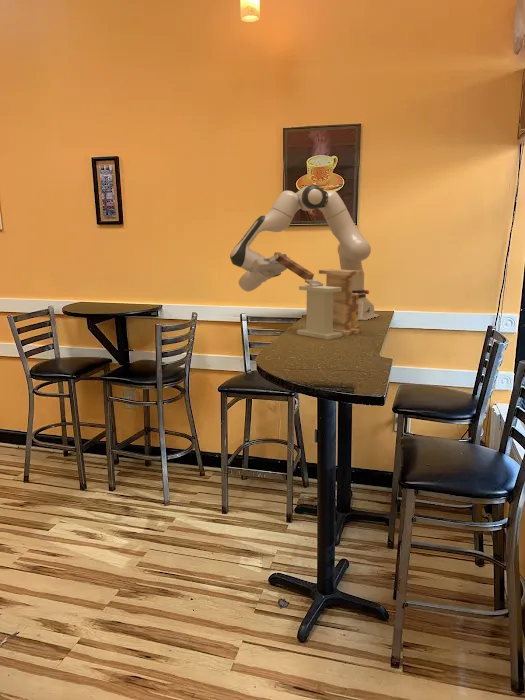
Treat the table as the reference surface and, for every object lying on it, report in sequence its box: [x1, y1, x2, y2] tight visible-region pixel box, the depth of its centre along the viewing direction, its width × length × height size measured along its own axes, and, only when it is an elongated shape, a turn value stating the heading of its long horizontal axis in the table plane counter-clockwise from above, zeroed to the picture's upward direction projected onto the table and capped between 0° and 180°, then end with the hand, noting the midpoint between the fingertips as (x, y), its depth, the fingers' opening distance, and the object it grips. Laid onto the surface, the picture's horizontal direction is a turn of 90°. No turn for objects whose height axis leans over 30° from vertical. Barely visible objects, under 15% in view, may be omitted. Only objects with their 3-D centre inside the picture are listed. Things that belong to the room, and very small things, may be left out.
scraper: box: [273, 251, 324, 287], centre depth 224 cm, size 27×6×3 cm, turn 43°
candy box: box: [351, 293, 359, 329], centre depth 236 cm, size 9×4×15 cm, turn 63°
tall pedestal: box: [318, 268, 362, 336], centre depth 225 cm, size 9×17×26 cm, turn 42°
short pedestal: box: [296, 284, 343, 340], centre depth 218 cm, size 9×17×20 cm, turn 42°
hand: (282, 255), depth 230 cm, fingers closed on scraper, 3 cm apart
